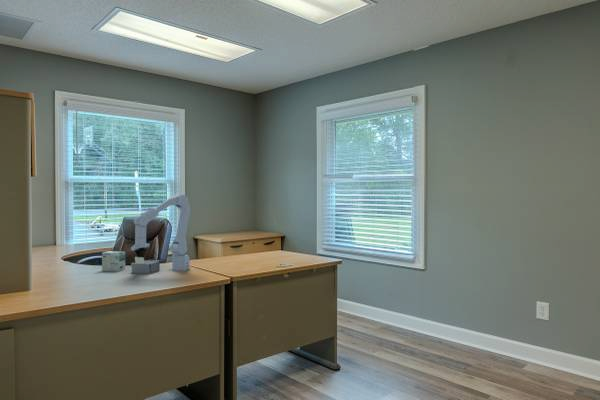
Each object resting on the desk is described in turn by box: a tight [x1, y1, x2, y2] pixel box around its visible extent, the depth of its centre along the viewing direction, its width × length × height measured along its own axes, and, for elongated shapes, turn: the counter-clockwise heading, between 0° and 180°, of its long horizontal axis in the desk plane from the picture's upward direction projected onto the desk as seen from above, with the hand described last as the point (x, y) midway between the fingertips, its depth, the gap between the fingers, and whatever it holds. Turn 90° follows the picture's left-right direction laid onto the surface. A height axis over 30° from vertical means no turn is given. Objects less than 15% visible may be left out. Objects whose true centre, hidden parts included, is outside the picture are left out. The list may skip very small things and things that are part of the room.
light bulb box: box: [101, 250, 126, 272], centre depth 241 cm, size 11×7×11 cm, turn 84°
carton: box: [144, 260, 161, 274], centre depth 238 cm, size 11×9×6 cm
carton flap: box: [130, 256, 151, 275], centre depth 232 cm, size 11×1×9 cm, turn 77°
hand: (140, 261), depth 233 cm, fingers closed, pressing on carton flap
